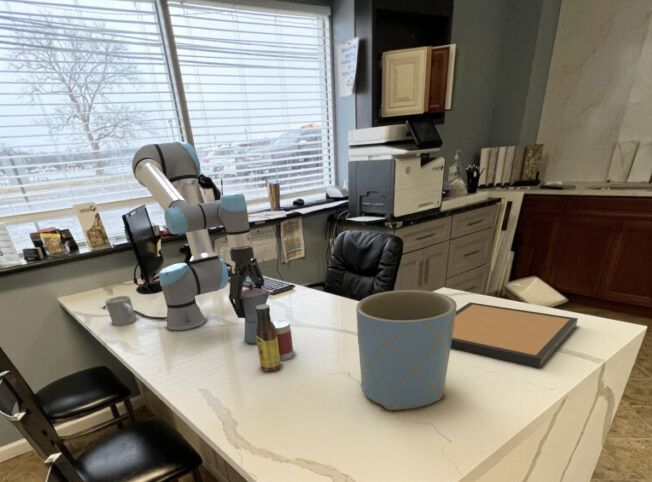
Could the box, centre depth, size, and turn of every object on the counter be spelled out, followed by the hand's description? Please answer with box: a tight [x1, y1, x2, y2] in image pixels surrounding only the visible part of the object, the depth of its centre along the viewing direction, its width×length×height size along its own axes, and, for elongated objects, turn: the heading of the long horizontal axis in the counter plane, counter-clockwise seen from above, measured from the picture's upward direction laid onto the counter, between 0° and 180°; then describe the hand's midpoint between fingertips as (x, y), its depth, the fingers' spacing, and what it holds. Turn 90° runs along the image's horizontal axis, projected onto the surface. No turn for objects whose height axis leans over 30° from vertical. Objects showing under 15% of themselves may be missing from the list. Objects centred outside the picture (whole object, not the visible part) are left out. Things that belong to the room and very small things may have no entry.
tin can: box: [271, 319, 294, 361], centre depth 130 cm, size 7×7×11 cm
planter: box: [355, 289, 458, 411], centre depth 101 cm, size 23×23×24 cm
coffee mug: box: [105, 295, 137, 326], centre depth 176 cm, size 13×10×10 cm
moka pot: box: [228, 283, 271, 345], centre depth 142 cm, size 10×15×20 cm, turn 78°
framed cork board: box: [450, 301, 579, 369], centre depth 132 cm, size 36×3×35 cm
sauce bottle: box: [255, 303, 281, 372], centre depth 121 cm, size 6×6×20 cm
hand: (251, 311), depth 142 cm, fingers open, 13 cm apart
